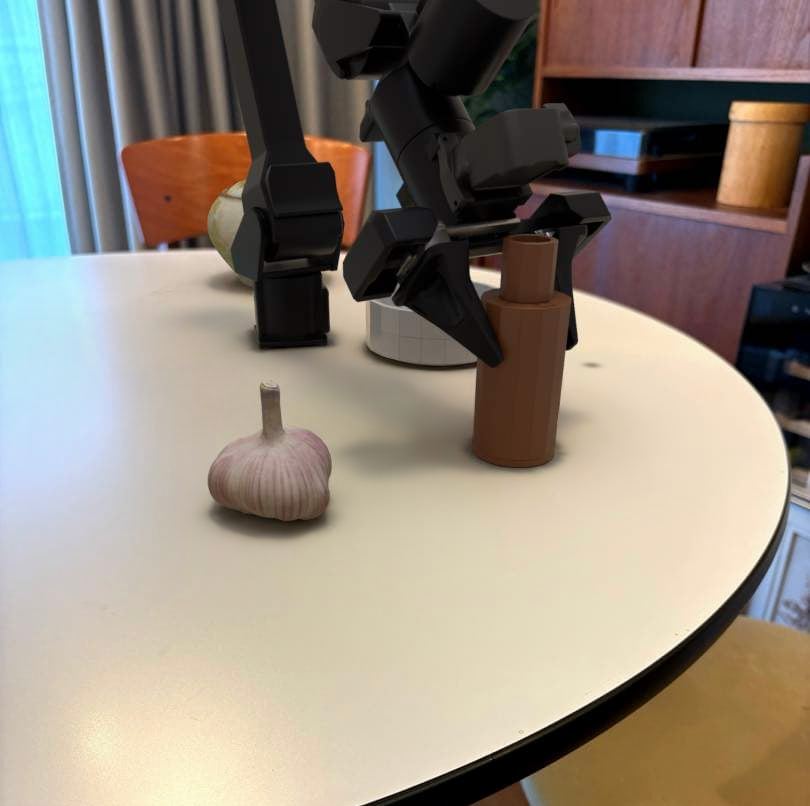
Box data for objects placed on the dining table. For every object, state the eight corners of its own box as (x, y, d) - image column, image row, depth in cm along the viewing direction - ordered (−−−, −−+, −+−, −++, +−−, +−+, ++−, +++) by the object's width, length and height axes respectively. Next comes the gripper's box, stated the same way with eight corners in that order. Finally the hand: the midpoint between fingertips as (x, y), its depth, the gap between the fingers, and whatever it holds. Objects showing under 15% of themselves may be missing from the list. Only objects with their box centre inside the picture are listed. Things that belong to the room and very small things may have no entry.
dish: (382, 374, 71) (382, 316, 68) (355, 332, 82) (354, 281, 79) (525, 365, 73) (530, 308, 71) (480, 325, 84) (483, 275, 82)
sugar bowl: (345, 299, 93) (341, 153, 85) (209, 303, 91) (193, 154, 83) (331, 263, 110) (326, 138, 102) (216, 265, 108) (203, 138, 100)
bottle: (487, 471, 54) (502, 249, 47) (462, 437, 59) (472, 232, 52) (567, 463, 55) (593, 246, 48) (536, 431, 60) (555, 229, 53)
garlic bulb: (347, 529, 47) (344, 396, 43) (217, 546, 45) (201, 409, 41) (321, 474, 54) (315, 353, 50) (206, 487, 52) (191, 363, 48)
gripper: (364, 48, 43) (488, 305, 41) (609, 53, 53) (721, 262, 51) (299, 192, 53) (396, 407, 51) (516, 175, 62) (607, 355, 60)
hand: (536, 355), depth 53 cm, fingers open, 6 cm apart
